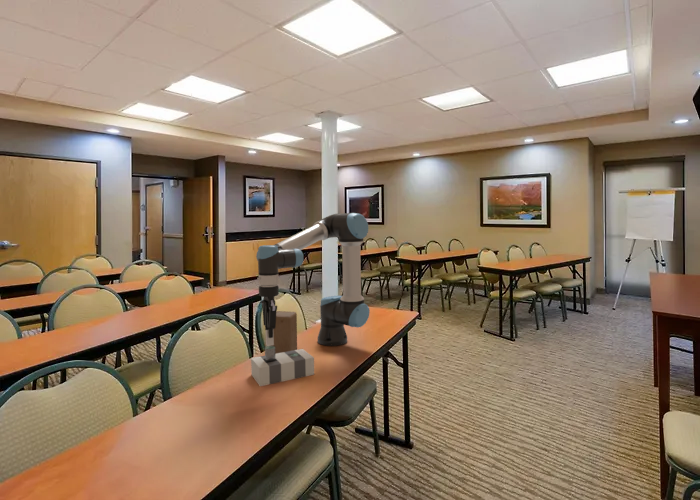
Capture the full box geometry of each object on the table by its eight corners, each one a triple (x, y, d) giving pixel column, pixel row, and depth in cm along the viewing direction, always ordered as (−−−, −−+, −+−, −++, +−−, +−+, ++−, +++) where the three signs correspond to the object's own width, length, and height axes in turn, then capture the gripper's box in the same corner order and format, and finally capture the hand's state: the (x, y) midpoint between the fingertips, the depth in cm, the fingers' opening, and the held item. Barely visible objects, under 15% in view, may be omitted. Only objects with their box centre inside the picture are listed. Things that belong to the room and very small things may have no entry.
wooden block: (290, 361, 168) (289, 316, 166) (268, 360, 170) (267, 315, 168) (298, 354, 177) (297, 311, 176) (277, 352, 179) (276, 310, 178)
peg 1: (273, 362, 154) (273, 345, 153) (277, 365, 150) (276, 348, 149) (263, 364, 152) (263, 346, 151) (266, 367, 148) (266, 349, 148)
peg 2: (297, 368, 159) (297, 352, 158) (301, 372, 155) (300, 355, 155) (288, 370, 157) (288, 353, 156) (291, 374, 153) (291, 356, 153)
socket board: (302, 364, 164) (302, 348, 164) (314, 374, 154) (313, 357, 153) (251, 375, 154) (251, 357, 153) (259, 386, 143) (259, 368, 143)
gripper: (254, 283, 152) (255, 342, 154) (263, 288, 141) (265, 351, 143) (272, 282, 156) (273, 339, 158) (283, 287, 144) (284, 348, 146)
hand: (269, 345), depth 150 cm, fingers closed
